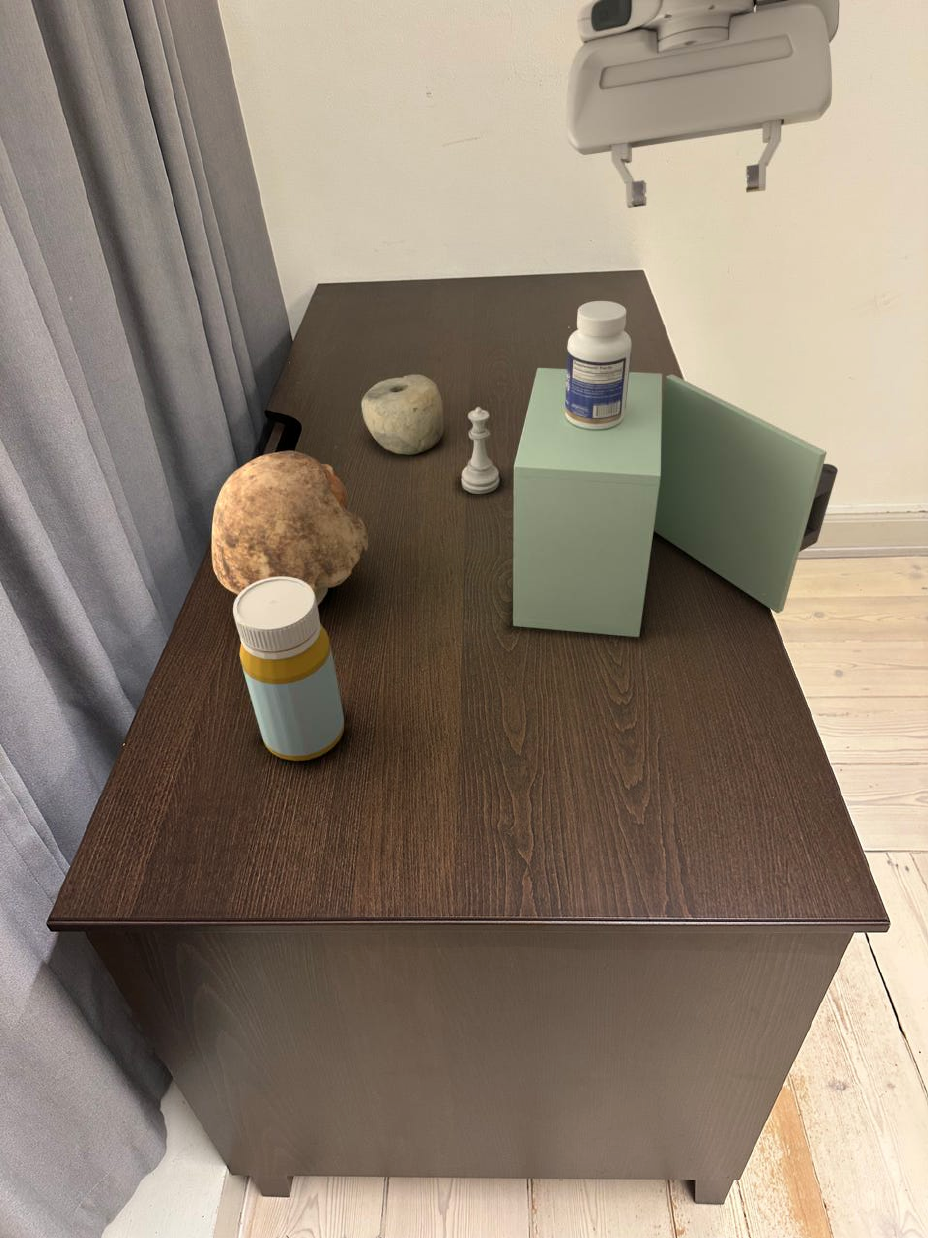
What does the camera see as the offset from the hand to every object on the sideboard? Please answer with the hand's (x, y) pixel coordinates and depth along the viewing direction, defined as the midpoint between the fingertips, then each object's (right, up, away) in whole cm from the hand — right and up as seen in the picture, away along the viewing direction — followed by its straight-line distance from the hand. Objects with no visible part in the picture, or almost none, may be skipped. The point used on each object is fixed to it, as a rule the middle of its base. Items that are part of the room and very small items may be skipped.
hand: (695, 198), depth 72 cm
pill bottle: (-7, -16, +7) cm, 19 cm away
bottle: (-33, -44, +4) cm, 55 cm away
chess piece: (-17, -19, +32) cm, 41 cm away
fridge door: (+9, -28, +20) cm, 35 cm away
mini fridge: (-7, -30, +19) cm, 36 cm away
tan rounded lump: (-35, -32, +18) cm, 51 cm away
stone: (-26, -12, +40) cm, 49 cm away
